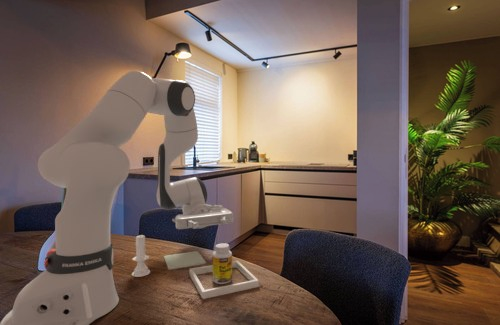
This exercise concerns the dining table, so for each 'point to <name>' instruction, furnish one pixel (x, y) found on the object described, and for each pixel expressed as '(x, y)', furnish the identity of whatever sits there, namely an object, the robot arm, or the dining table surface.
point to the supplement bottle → (222, 264)
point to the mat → (183, 260)
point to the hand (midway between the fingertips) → (210, 224)
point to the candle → (140, 258)
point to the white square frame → (223, 290)
